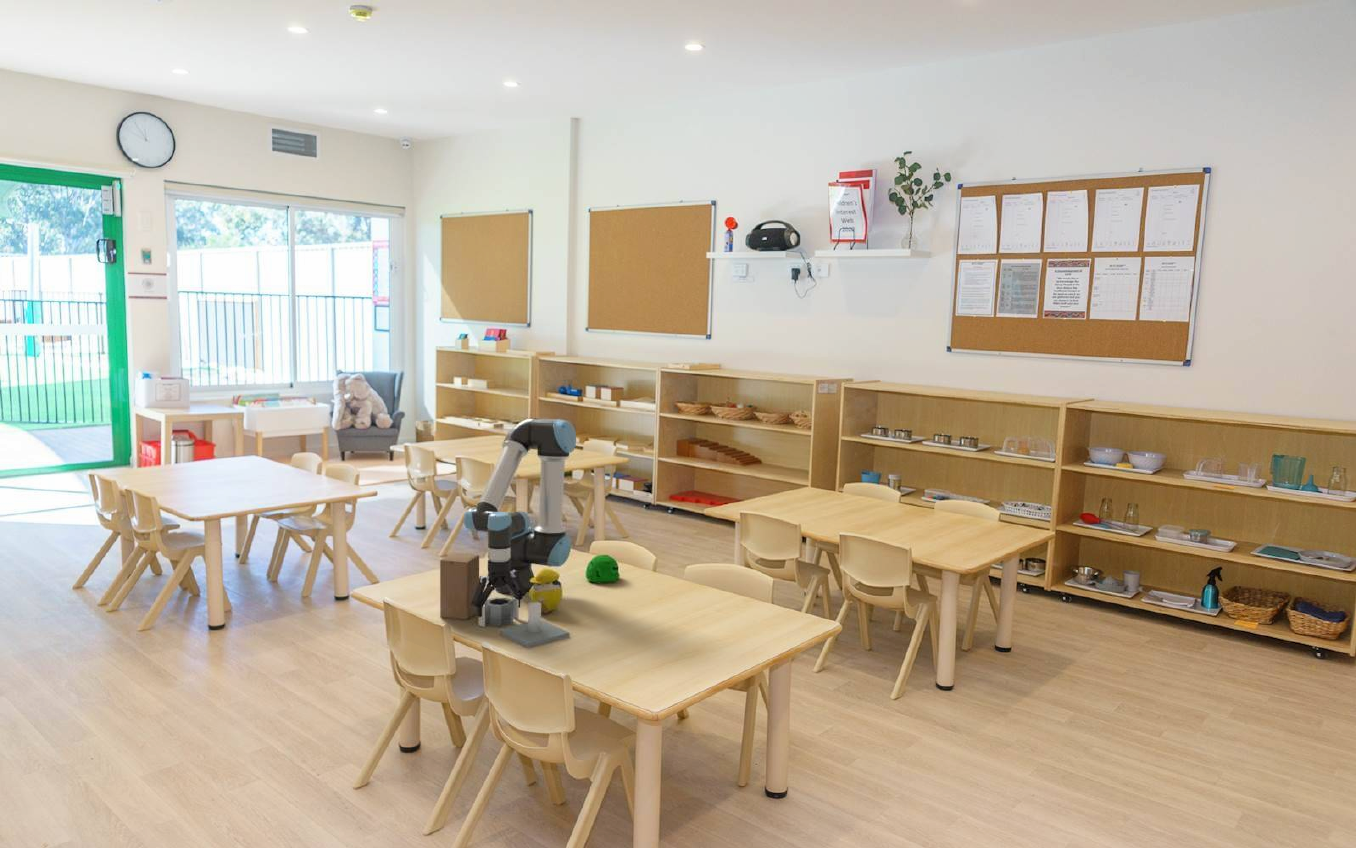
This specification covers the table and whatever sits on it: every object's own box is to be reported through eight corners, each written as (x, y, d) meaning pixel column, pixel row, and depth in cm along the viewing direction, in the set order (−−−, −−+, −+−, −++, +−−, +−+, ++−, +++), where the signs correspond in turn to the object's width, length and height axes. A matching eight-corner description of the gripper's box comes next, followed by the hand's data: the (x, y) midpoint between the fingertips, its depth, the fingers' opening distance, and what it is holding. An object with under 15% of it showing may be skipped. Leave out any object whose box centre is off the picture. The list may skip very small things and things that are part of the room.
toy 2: (618, 585, 350) (618, 560, 349) (583, 584, 350) (584, 559, 349) (620, 575, 364) (621, 551, 362) (587, 574, 364) (588, 550, 362)
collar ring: (502, 616, 311) (503, 596, 310) (517, 622, 305) (517, 602, 304) (480, 621, 305) (480, 601, 304) (494, 628, 299) (494, 607, 298)
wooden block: (467, 620, 306) (467, 562, 303) (439, 617, 308) (439, 559, 305) (479, 611, 316) (479, 554, 313) (452, 608, 318) (452, 552, 315)
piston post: (540, 623, 305) (541, 593, 303) (569, 637, 293) (569, 605, 292) (499, 634, 294) (499, 602, 292) (527, 648, 282) (528, 615, 281)
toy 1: (522, 609, 319) (522, 567, 317) (545, 603, 326) (546, 562, 324) (545, 618, 310) (546, 575, 308) (569, 612, 317) (569, 570, 316)
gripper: (524, 551, 313) (523, 611, 316) (460, 562, 297) (460, 626, 299) (536, 555, 308) (535, 617, 311) (472, 567, 291) (472, 632, 294)
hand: (498, 621), depth 305 cm, fingers open, 12 cm apart
